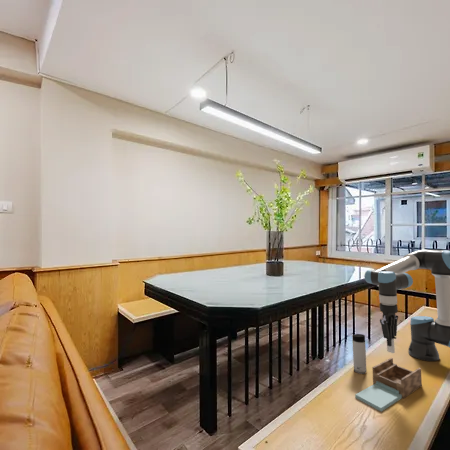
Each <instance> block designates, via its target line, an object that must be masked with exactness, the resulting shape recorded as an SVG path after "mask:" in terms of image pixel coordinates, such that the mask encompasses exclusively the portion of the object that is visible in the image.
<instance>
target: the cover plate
mask: <svg viewBox="0 0 450 450" xmlns="http://www.w3.org/2000/svg"><path fill="white" fill-rule="evenodd" d="M355 399H357V400H358V401H361V402H363V403H365V404H366V405H368V406H370V407H372V408H373V409H375V410H377V411H380V412H383V411H384V410H386V409H388V408H389V407H390V406H393V405H394V404H395V403H397V402H398V401H400V400H401V399H403V398H402V395H401V394H399V391H398V390H396V389H394V388H392V387H390V386H387V385H385V384H383V383H381V382H379V381H376V383H375V384H373V383H372V385H370V386H367V388H365V389H362V390H360V391H359V392H357V393H355Z"/></svg>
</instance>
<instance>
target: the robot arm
mask: <svg viewBox="0 0 450 450" xmlns="http://www.w3.org/2000/svg"><path fill="white" fill-rule="evenodd" d="M418 269H419V270H422V269H424V270H430V273H431V275H432V276H433V277H434V283H435V284H434V285H435V298H436V299H435V300H436V310H437V318H435V319H434V318H433V317H431V316H425V315H417V316H416V315H415V316H412V317H411V318H410V322H409V325H410V339H411V340H410V343H409V346H408V350H407V351H408V354H409V355H410V356H411V357H413V358H415V359H418V360H422V361H427V362H437V361H439V360H440V353H439V351H438V349H437V347H436V344H438V345H441V346H445V347H448V348H450V250H447V249H427V248H426V249H419V250H416V251H415V250H414V251H413V252H410V253H407V254H405V255H404V256H403V257H402V258H401V259H398V260H396V261H394V262H391V263H389V264H387V265H385V266H383V267H380V268H378V269H376V270H375V269H368V270H366V271H365V273H364V275H363V276H364V277H363V278H364V280H365V282H366V283H367V284H372V285H377V286H378V299H379V311H380V312H381V313H382V319H381V318H380V319H379V323H380V326H381V330H382V336H383V338H384V339H386V349H387V351H386V352H387V353H390V354H394V353H396V351H395V349H396V348H395V340H396V339H397V333H398V332H397V330H398V320H399V315H396V314H397V313H398V310H399V309H398V296H397V295H398V294H397V293H398V292H397V291H398V290H403V289H407V288H410V287H411V286H412V285H413V283H414V279H413V277H412V276H411V275H410V274H409V273H408V272H409V271H415V270H418Z"/></svg>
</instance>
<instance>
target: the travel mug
mask: <svg viewBox="0 0 450 450" xmlns="http://www.w3.org/2000/svg"><path fill="white" fill-rule="evenodd" d="M366 350H367V349H366V335H364V334H361V333H356V334H352V353H353V354H352V358H353V359H352V360H353V362H352V363H353V371H354V372H355V373H356V374H360V375H361V374H362V375H363V374H366V373H368V372H367V355H366V354H367V351H366Z"/></svg>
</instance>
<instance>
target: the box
mask: <svg viewBox="0 0 450 450" xmlns="http://www.w3.org/2000/svg"><path fill="white" fill-rule="evenodd" d="M371 368H372V385H373V384H375V383H376V381H379V382H381V383H383V384H385V385H387V386H390V387H392V388H394V389H396V390H398V391H399V394H401V395H402V398H401V399H403V400H404V399H405V398H407V397H408V396H410V395H411V394H412V393H414V392H415V391H417V390H418V389H419V388H421V387H422V385H423V384H422V368H421V367H418V368H416V369H415V370H410V369H407V368H405V367H402V366H399V365H397V363H394V358H393V357H390V358H388V359H386V360H384V361H382V362H380V363H378V364H375V366H372V367H371Z"/></svg>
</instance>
